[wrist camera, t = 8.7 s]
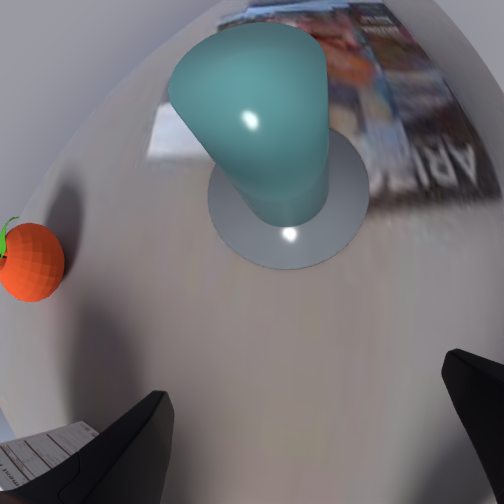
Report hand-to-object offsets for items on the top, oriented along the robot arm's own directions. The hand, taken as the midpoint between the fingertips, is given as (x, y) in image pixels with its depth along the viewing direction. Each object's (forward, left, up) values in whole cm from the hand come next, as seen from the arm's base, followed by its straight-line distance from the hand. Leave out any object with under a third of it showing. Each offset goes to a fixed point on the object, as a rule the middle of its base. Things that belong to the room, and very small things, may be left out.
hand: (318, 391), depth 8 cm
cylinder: (+6, -9, -9) cm, 14 cm away
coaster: (+6, -9, -10) cm, 14 cm away
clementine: (+24, +4, -10) cm, 26 cm away
